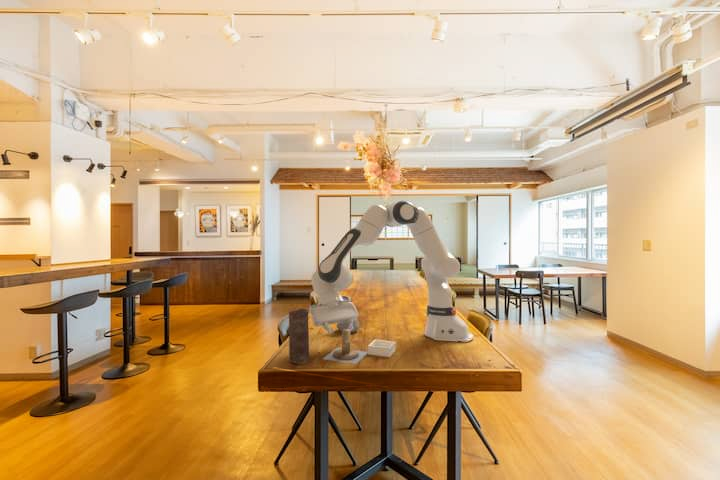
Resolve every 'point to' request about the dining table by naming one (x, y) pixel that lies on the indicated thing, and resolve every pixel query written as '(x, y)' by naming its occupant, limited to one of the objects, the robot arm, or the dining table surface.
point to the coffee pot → (346, 325)
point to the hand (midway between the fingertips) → (341, 331)
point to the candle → (298, 336)
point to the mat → (353, 361)
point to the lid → (345, 348)
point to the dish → (381, 348)
